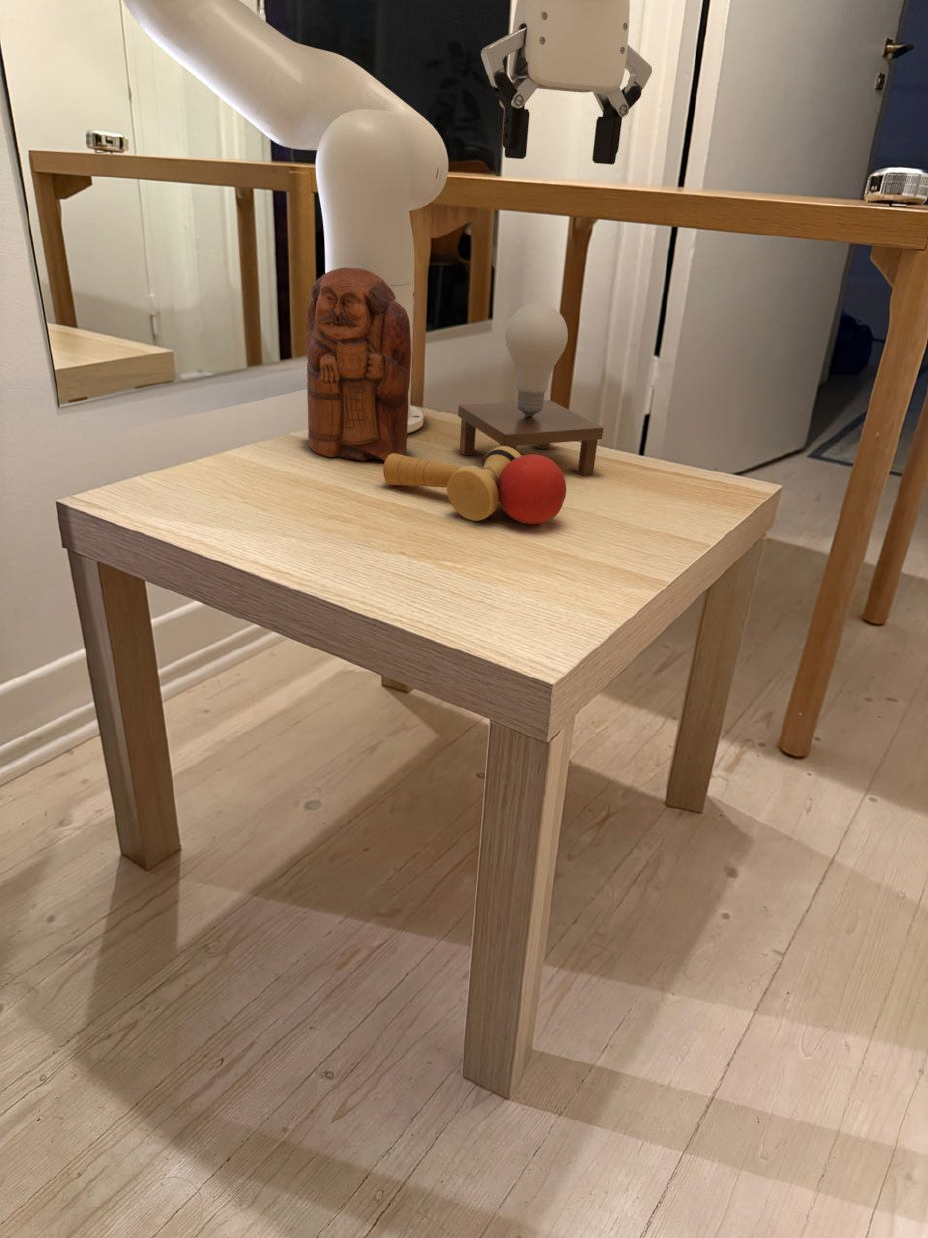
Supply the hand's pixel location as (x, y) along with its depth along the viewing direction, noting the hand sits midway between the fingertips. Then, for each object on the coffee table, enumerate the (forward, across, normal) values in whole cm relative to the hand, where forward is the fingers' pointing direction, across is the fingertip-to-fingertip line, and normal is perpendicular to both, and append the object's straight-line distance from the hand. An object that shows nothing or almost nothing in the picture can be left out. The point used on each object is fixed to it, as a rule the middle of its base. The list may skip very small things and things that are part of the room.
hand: (560, 160), depth 86 cm
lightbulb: (+24, +3, +4) cm, 24 cm away
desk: (+28, +3, +4) cm, 29 cm away
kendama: (+28, +14, +14) cm, 35 cm away
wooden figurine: (+28, +19, -4) cm, 34 cm away
